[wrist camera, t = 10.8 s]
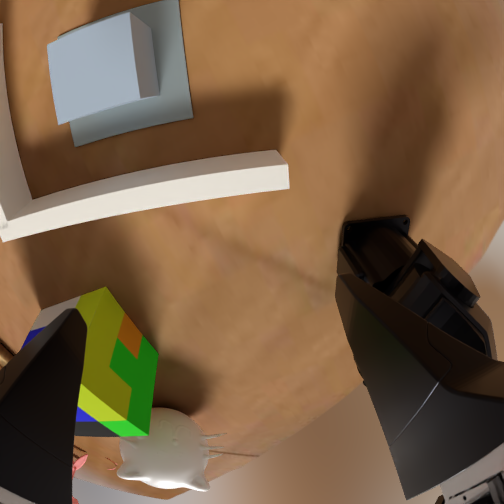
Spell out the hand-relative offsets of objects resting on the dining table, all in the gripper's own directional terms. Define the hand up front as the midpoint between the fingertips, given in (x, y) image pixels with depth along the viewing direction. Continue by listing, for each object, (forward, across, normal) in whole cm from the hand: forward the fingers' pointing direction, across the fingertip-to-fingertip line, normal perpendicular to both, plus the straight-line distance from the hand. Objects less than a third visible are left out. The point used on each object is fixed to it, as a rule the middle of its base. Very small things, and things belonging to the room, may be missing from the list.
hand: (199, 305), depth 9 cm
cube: (+13, +5, -9) cm, 16 cm away
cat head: (+13, +13, +32) cm, 37 cm away
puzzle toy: (+13, +15, +14) cm, 24 cm away
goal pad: (+13, +5, -9) cm, 17 cm away
